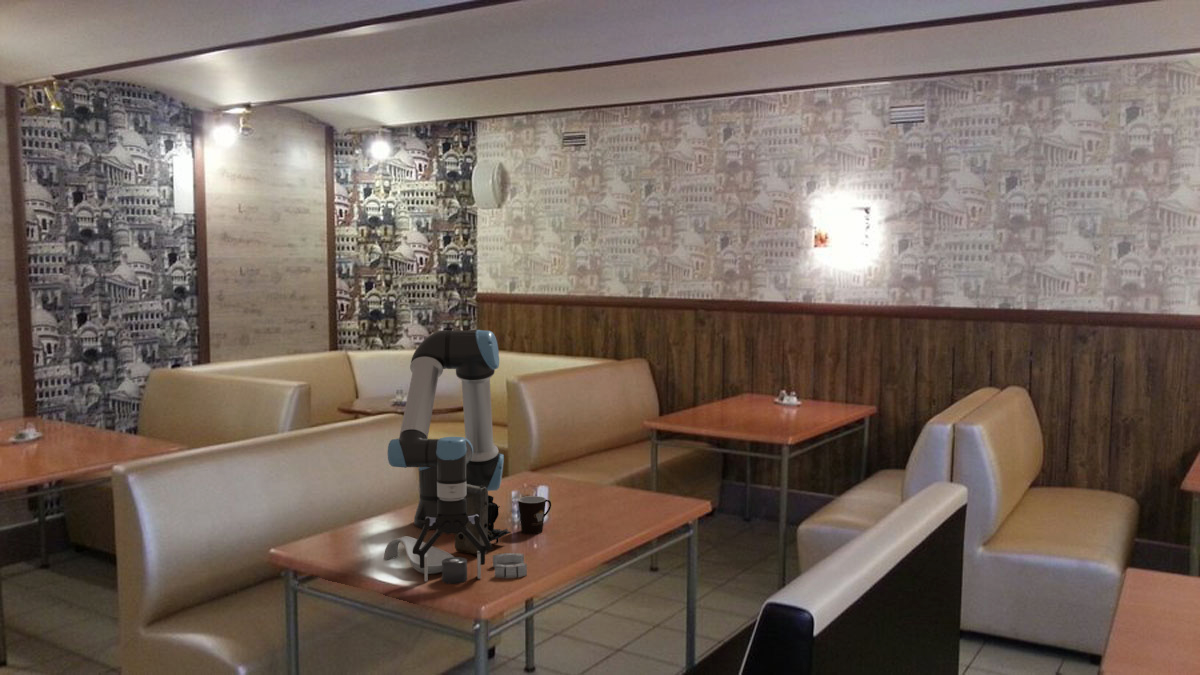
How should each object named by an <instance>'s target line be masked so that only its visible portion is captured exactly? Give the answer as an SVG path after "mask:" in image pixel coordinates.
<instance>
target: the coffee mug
mask: <svg viewBox="0 0 1200 675" xmlns="http://www.w3.org/2000/svg"><path fill="white" fill-rule="evenodd" d="M547 502H548V505H549V506H548V509H547V510H546V503H547ZM517 503H518V512H519V518H520V521H519V522H520V526H521V527H520V528H521V533H522V534H525V535H539V534H541V533H543V529H544V521H545V517H546V516H547V515H548V513H549V512H550V510H551V508H552V501H551V500H549V499H547V498H546V497H543V496H539V495H538V496H536V495H532V496H531V495H528V496H523V497H519V498H517Z"/></svg>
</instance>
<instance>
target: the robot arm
mask: <svg viewBox="0 0 1200 675" xmlns="http://www.w3.org/2000/svg"><path fill="white" fill-rule="evenodd" d="M499 354H500V351H499V344H498V339H497V338H496V336H495V333H494V332H493V331H491V330H482V329H476V330H475V329H472V330H471V329H470V330H469V329H467V330H466V329H463V330H461V329H459V330H455V329H453V330H450V329H449V330H448V329H443V330H439V331H436V332H433V333H431V334H430V335H428V336H427V337H426V338H425V339H424V340H422V341H421V343H420V344H419V345H418V346H417V348H416V349H415V351H414V353H413V355H412V356H411V360H410V366H409V369H410V372H411V379H410V382H409V387H408V388H409V389H408V392H407V393H408V394H407V397H406V401H405V402H406V403H405V406H404V407H405V408H404V412H403V416H402V423H401V427H400V432H399V438H393V439H390V441H389V442H388V445H387V460H388V464H389V465H390V466H391V467H393V468H403V469H404V468H405V469H406V468H418V475H419V477H418V478H419V479H418V482H419V485H418V486H419V502H418V505H417V508H416V511H415V514H414V519H413V520H414V526H415V527H417V528H420V529H421V531H420V534H419V535H418V536H417V538H416V539H417V541H416V543H415V545H414V547H413V554H417V555H419V556H420V568H424V576H423V577H424V582H426V583H427V582H428V578H429V577H428V576H429V574H428V559H427V554H426V552H427V551H428V550H429V549H430V547H431V546H433V545H434V544H435V542H436V541H437V540H438V539H439V538H440V537H441V536H442V535H443V533H444V534H445V535H451V534H454V535H455V534H458V533H460V532H462V533H463V534H464V535H465V536H466V537H467V538H468V539H469V540H470V541H471V542H472V543H473V544H474V546H475V547H476V548H477V549H478V550H479V551H477V555H476V556H477V557H476V560H477V563H476V564H477V580H479V579H482V571H481V570H482V567H481V566H485V564H486V554H485V552H486V551H487V552H489V551H491V550H492V549H493V547H492V543H491V541H489V539H488V537H487V536H486V534H485V532H484V530H483V528H482V526H481V524H480V522H479V516H478V514H475V515H474V516H468V515H467V499H466V498H465V496H466V495H467V484H470V485H473V486H481V485H483V486H485V487H486V488H487V490H488V492H492V491H493V492H494V491H497V490H498V489H499V488H500V487H501V485H502V484H501V483H502V479H503V478H502V477H503V472H504V460H505V455H504V454H503V453H500V451H499V448H498V446H497V445H495V444H494V432H493V431H494V430H493V429H494V428H493V413H492V411H493V410H492V391H491V378H492V377H493V376H494V375H495V372H496V371H495V370H497V369H498V368H499V366H500V355H499ZM444 370H455V375H456V377H457V378H458V379H460V380H461V391H462V405H463V406H462V407H463V423H464V434H465V435H464V436H465V437H463V436H445V437H440V438H437V439H436V438H435V439H432V438H430V439H429V438H428V437H429V432H430V427H431V422H432V421H431V420H432V416H433V409H434V404H435V399H436V393H437V387H438V381H439V378H440V377H441V376H443V372H444ZM468 521H471V522H472V524H475V526H476V528H477V530H478V532H479V534H480V536H481V538H482V540H483V542H484V544H485V546H483V545H482V544H481V543H480V542H479V541H478V540H477V539H476V537H475V536H474V535H473V534H472V533H471V532H470V531H469V530H468V528H467V527H466V524H467V523H468ZM429 530H436V531H435V532H434V533H433V534H432V535H431V537H430V538H429V539H428V541H427V542H425V543H426V544H425V545H424V546H423V547H422V549H419V548H420V546H421V544H422V542H424V540H425V537H426V536H427V533H428V532H429ZM487 552H486V553H487Z"/></svg>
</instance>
